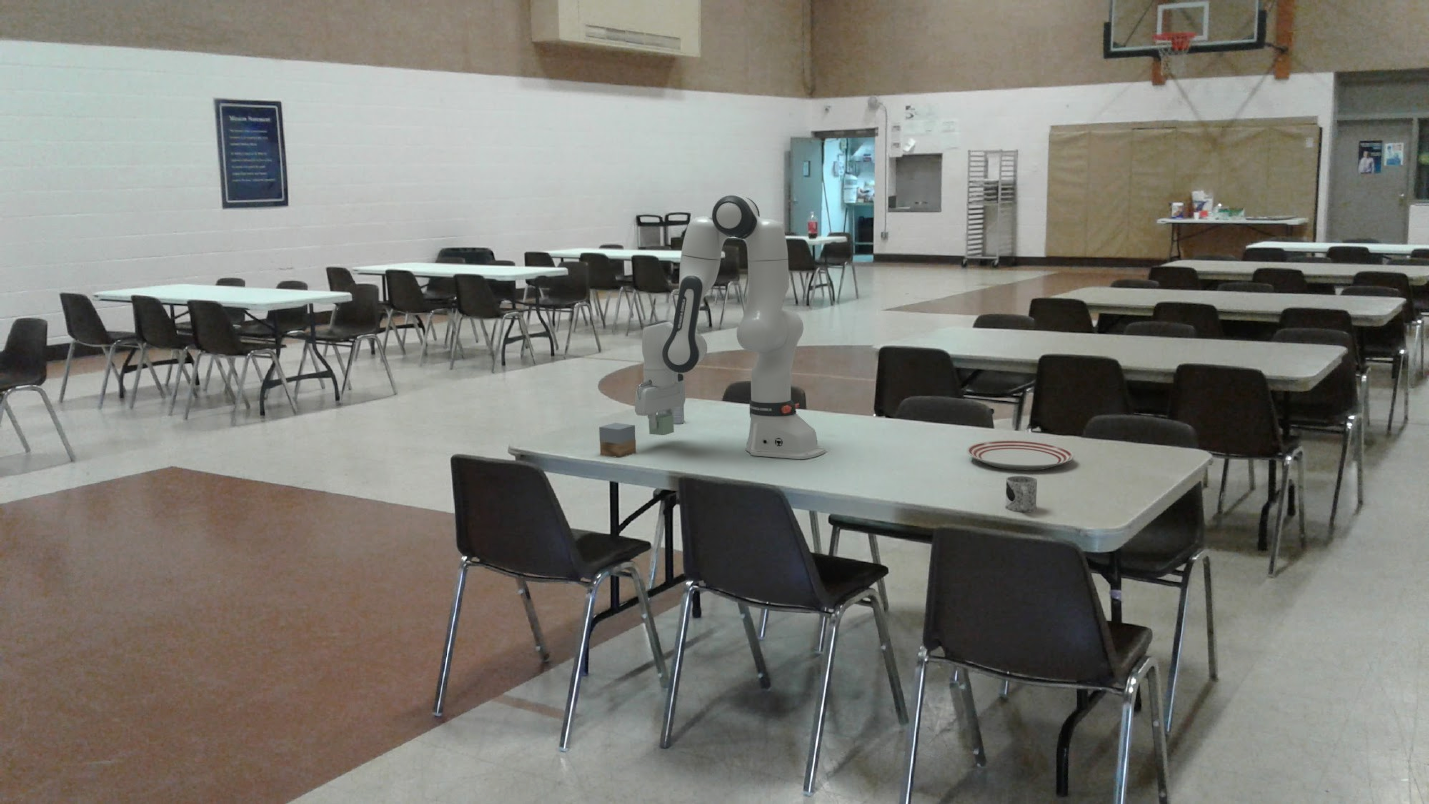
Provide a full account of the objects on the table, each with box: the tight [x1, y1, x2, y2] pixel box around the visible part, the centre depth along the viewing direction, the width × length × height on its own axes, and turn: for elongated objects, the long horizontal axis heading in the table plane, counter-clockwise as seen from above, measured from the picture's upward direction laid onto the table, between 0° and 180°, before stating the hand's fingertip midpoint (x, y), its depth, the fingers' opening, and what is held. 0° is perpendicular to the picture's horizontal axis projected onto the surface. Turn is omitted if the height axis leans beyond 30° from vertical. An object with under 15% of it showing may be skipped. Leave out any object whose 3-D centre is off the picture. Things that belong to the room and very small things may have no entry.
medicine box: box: [657, 404, 685, 425], centre depth 366 cm, size 8×4×9 cm, turn 84°
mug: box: [1005, 475, 1038, 513], centre depth 259 cm, size 10×7×7 cm, turn 175°
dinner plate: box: [966, 439, 1075, 471], centre depth 306 cm, size 28×27×3 cm
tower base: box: [599, 438, 637, 458], centre depth 322 cm, size 7×7×4 cm
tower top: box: [598, 422, 636, 444], centre depth 322 cm, size 7×7×4 cm
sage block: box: [648, 413, 675, 436], centre depth 330 cm, size 5×5×5 cm
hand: (661, 426), depth 330 cm, fingers closed on sage block, 5 cm apart
